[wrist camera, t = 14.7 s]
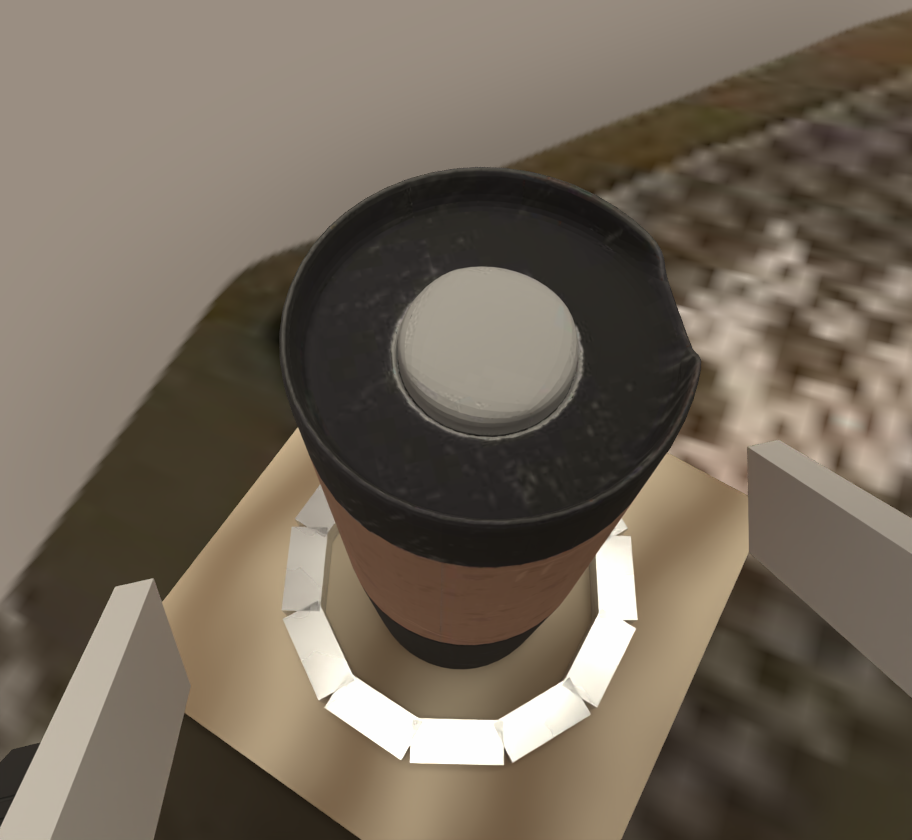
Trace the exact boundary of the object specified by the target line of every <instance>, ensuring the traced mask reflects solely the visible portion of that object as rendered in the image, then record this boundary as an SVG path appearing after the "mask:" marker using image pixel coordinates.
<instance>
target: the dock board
mask: <svg viewBox="0 0 912 840" xmlns="http://www.w3.org/2000/svg"><path fill="white" fill-rule="evenodd" d="M319 485H320V482H319V479H318V477H317V474H316V472H315V469H314V467H313V464H312V461H311V459H310V456H309V454H308V451H307V449H306V446H305V444H304V441H303V439H302V436H301V433H300V431H299V428H297V429H296V431H295V432H294V433H293V434H292V436H291V437H290V438H289V440H288V441H287V442H286V443H285V445H284V446H283V447H282V449H281V450H280V451H279V452H278V454H277V455H276V456H275V458H274V459H273V460H272V462H271V463H270V464H269V465H268V467H267V468H266V469H265V471H264V472H263V473H262V474H261V476H260V477H259V478H258V480H257V481H256V482H255V483H254V485H253V486H252V487H251V489H250V490H249V491H248V492H247V494H246V495H245V496H244V498H243V499H242V500H241V501H240V503H239V504H238V505H237V507H236V508H235V509H234V510H233V512H232V513H231V514H230V516H229V517H228V518H227V520H226V521H225V522H224V523H223V525H222V526H221V527H220V529H219V530H218V531H217V532H216V534H215V535H214V536H213V538H212V539H211V540H210V541H209V543H208V544H207V545H206V547H205V548H204V549H203V550H202V552H201V553H200V554H199V556H198V557H197V558H196V559H195V561H194V562H193V563H192V565H191V566H190V567H189V568H188V570H187V571H186V572H185V574H184V575H183V576H182V578H181V579H180V580H179V581H178V583H177V584H176V585H175V587H174V588H173V589H172V590H171V592H170V593H169V594H168V596H167V597H166V598H165V599H164V601H163V602H162V604H163V607H164V610H165V613H166V616H167V619H168V622H169V624H170V627H171V630H172V633H173V636H174V639H175V642H176V645H177V648H178V650H179V653H180V656H181V659H182V662H183V665H184V668H185V671H186V674H187V677H188V679H189V682H190V685H191V687H190V691H189V695H188V699H187V703H186V708H185V712H184V713H186V714H187V715H189V716H190V717H191V718H193V719H194V720H196V721H197V722H198V723H200V724H201V725H202V726H204V727H205V728H207V729H208V730H209V731H211V732H212V733H214V734H215V735H216V736H218V737H219V738H221V739H222V740H223V741H225V742H226V743H228V744H229V745H230V746H232V747H233V748H234V749H236V750H237V751H239V752H240V753H241V754H243V755H244V756H246V757H247V758H248V759H250V760H251V761H253V762H254V763H255V764H257V765H258V766H260V767H261V768H262V769H264V770H265V771H267V772H268V773H269V774H271V775H272V776H273V777H275V778H276V779H278V780H279V781H280V782H282V783H283V784H285V785H286V786H287V787H289V788H290V789H292V790H293V791H294V792H296V793H297V794H299V795H300V796H301V797H303V798H304V799H306V800H307V801H308V802H310V803H311V804H312V805H314V806H315V807H317V808H318V809H319V810H321V811H322V812H324V813H325V814H326V815H328V816H329V817H331V818H332V819H333V820H335V821H336V822H338V823H339V824H340V825H342V826H343V827H345V828H346V829H347V830H349V831H350V832H351V833H353V834H354V835H356V836H357V837H358V838H360V839H361V840H621V839H622V836H623V834H624V832H625V830H626V827H627V825H628V823H629V821H630V818H631V816H632V814H633V812H634V809H635V807H636V805H637V803H638V800H639V798H640V796H641V794H642V791H643V789H644V787H645V785H646V782H647V780H648V778H649V776H650V773H651V771H652V769H653V767H654V764H655V762H656V760H657V758H658V755H659V753H660V751H661V749H662V746H663V744H664V742H665V740H666V737H667V735H668V733H669V731H670V728H671V726H672V724H673V722H674V719H675V717H676V715H677V713H678V710H679V708H680V706H681V704H682V701H683V699H684V697H685V695H686V692H687V690H688V688H689V686H690V683H691V681H692V679H693V677H694V674H695V672H696V670H697V668H698V665H699V663H700V661H701V659H702V656H703V654H704V652H705V650H706V647H707V645H708V643H709V641H710V638H711V636H712V634H713V632H714V629H715V627H716V625H717V623H718V620H719V618H720V616H721V614H722V611H723V609H724V607H725V605H726V602H727V600H728V598H729V596H730V593H731V591H732V589H733V587H734V584H735V582H736V580H737V578H738V575H739V573H740V571H741V569H742V566H743V564H744V562H745V560H746V557H747V555H748V553H749V523H748V496H747V495H746V494H744V493H742V492H740V491H738V490H736V489H734V488H732V487H731V486H729V485H727V484H725V483H723V482H721V481H719V480H717V479H716V478H714V477H712V476H710V475H708V474H706V473H704V472H702V471H701V470H699V469H697V468H695V467H693V466H691V465H689V464H687V463H686V462H684V461H682V460H680V459H678V458H676V457H674V456H672V455H671V454H669V453H666V455H665V456H664V458H663V459H662V461H661V462H660V464H659V465H658V466H657V468H656V469H655V471H654V472H653V474H652V475H651V476H650V478H649V479H648V481H647V482H646V484H645V485H644V486H643V488H642V489H641V491H640V492H639V494H638V495H637V497H636V498H635V499H634V501H633V502H632V504H631V505H630V507H629V508H628V509H627V511H626V512H625V514H624V515H623V517H622V518H621V519H622V520H623V522H624V523H625V525H626V526H627V528H628V529H627V530H626V531H625V533H624V534H623V535H622V536H631V546H632V558H633V571H634V583H635V596H636V608H637V621H635V622H634V623H633V624H631V626H633V627H634V628H636V629H635V631H634V633H633V635H632V637H631V639H630V641H629V644H628V646H627V648H626V650H625V652H624V654H623V656H622V658H621V660H620V662H619V664H618V666H617V668H616V670H615V672H614V674H613V676H612V678H611V680H610V682H609V684H608V686H607V688H606V690H605V693H604V695H603V697H602V699H601V701H600V703H599V705H598V707H597V708H595V709H592V710H589V712H590V714H591V715H589V716H588V717H586V718H584V719H583V720H581V721H580V722H578V723H576V724H575V725H573V726H571V727H570V728H568V729H567V730H565V731H563V732H562V733H560V734H558V735H557V736H555V737H554V738H552V739H550V740H549V741H547V742H545V743H544V744H542V745H541V746H539V747H537V748H536V749H534V750H532V751H531V752H529V753H528V754H526V755H524V756H523V757H521V758H519V759H518V760H516V761H515V762H513V763H509V762H508V760H507V758H506V756H505V754H504V765H476V764H436V763H410V750H411V747H410V749H409V750H408V752H407V754H406V756H405V757H404V759H403V760H401V759H399V758H398V757H396V756H395V755H393V754H392V753H390V752H389V751H387V750H386V749H384V748H383V747H381V746H380V745H379V744H377V743H376V742H374V741H373V740H371V739H370V738H368V737H367V736H365V735H364V734H362V733H361V732H359V731H358V730H357V729H355V728H354V727H352V726H351V725H349V724H348V723H346V722H345V721H343V720H342V719H340V718H339V717H338V716H336V715H335V714H333V713H332V712H330V711H329V710H327V709H326V708H324V707H325V706H326V704H327V703H328V702H326V703H322V702H320V701H319V700H318V698H317V696H316V693H315V691H314V689H313V687H312V684H311V682H310V680H309V678H308V675H307V673H306V671H305V668H304V666H303V664H302V662H301V659H300V657H299V655H298V653H297V650H296V648H295V646H294V643H293V641H292V639H291V637H290V634H289V632H288V630H287V628H286V625H285V623H284V621H283V618H285V617H287V615H286V614H285V613H284V612H283V611H282V602H283V594H284V585H285V577H286V569H287V561H288V553H289V544H290V536H291V528H292V527H299V525H298V524H297V522H296V520H295V518H296V517H297V515H298V514H299V512H300V511H301V510H302V508H303V507H304V506H305V504H306V503H307V502H308V500H309V499H310V497H311V496H312V495H313V493H314V492H315V491H316V489H317V488H318V487H319ZM326 615H327V617H328V619H329V621H330V623H331V625H332V627H333V630H334V632H335V634H336V636H337V638H338V640H339V642H340V645H341V647H342V649H343V651H344V653H345V655H346V657H347V660H348V662H349V664H350V666H351V668H352V670H353V673H354V675H355V677H357V678H358V679H360V680H361V681H363V682H364V683H366V684H367V685H369V686H370V687H372V688H373V689H375V690H376V691H378V692H379V693H381V694H382V695H384V696H385V697H387V698H388V699H390V700H391V701H393V702H394V703H396V704H397V705H399V706H400V707H402V708H403V709H405V710H406V711H408V712H409V713H411V714H412V715H414V716H415V717H417V718H425V719H464V720H499V719H501V718H502V717H504V716H506V715H507V714H509V713H511V712H512V711H514V710H516V709H517V708H519V707H521V706H522V705H524V704H526V703H527V702H529V701H531V700H532V699H534V698H536V697H537V696H539V695H541V694H542V693H544V692H546V691H547V690H549V689H551V688H552V687H554V686H556V685H557V684H559V683H560V681H561V679H562V677H563V675H564V673H565V671H566V669H567V667H568V665H569V663H570V661H571V659H572V657H573V656H574V654H575V652H576V650H577V648H578V646H579V644H580V642H581V640H582V638H583V636H584V634H585V632H586V630H587V629H588V627H589V625H590V623H591V621H592V611H591V593H590V574H589V566H588V567H587V568H586V570H585V571H584V573H583V574H582V576H581V577H580V579H579V580H578V581H577V583H576V584H575V586H574V587H573V589H572V590H571V591H570V593H569V594H568V595H567V597H566V598H565V599H564V601H563V602H562V603H561V604H560V606H559V607H558V608H557V609H556V610H555V611H554V612H553V613H552V614H551V615H550V616H549V617H548V618H547V619H546V620H545V621H544V622H543V623H542V624H541V625H540V626H539V627H538V628H537V629H536V630H535V631H534V632H533V633H532V634H531V635H530V636H529V637H528V638H527V639H526V640H525V641H524V643H523V644H521V645H520V646H519V647H518V648H517V649H515V650H514V651H513V652H512V653H510V654H509V655H507V656H506V657H504V658H502V659H500V660H499V661H496V662H494V663H491V664H489V665H486V666H482V667H478V668H473V669H449V668H443V667H439V666H436V665H433V664H430V663H427V662H425V661H423V660H421V659H419V658H418V657H416V656H414V655H413V654H411V653H410V652H409V651H407V650H406V649H405V648H404V647H403V646H402V645H400V643H399V642H398V641H397V640H396V639H395V638H394V637H393V636H392V634H391V633H390V631H389V630H388V628H387V627H386V625H385V624H384V622H383V621H382V619H381V617H380V616H379V614H378V612H377V611H376V609H375V607H374V606H373V604H372V602H371V601H370V599H369V597H368V596H367V594H366V592H365V591H364V589H363V587H362V585H361V583H360V581H359V579H358V577H357V575H356V573H355V571H354V569H353V567H352V564H351V562H350V559H349V556H348V554H347V551H346V549H345V546H344V544H343V541H342V538H341V536H340V533H339V534H338V536H337V537H336V538H335V540H334V541H333V543H332V552H331V562H330V573H329V583H328V593H327V604H326Z"/></svg>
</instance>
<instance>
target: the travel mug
mask: <svg viewBox="0 0 912 840" xmlns="http://www.w3.org/2000/svg"><path fill="white" fill-rule="evenodd" d="M280 364H281V370H282V376H283V382H284V387H285V391H286V394H287V397H288V400H289V403H290V406H291V410H292V413H293V416H294V418H295V421H296V423H297V426H298V428H299V431H300V433H301V436H302V439H303V441H304V444H305V446H306V449H307V451H308V454H309V456H310V459H311V461H312V464H313V467H314V469H315V472H316V474H317V477H318V479H319V482H320V485H321V487H322V490H323V492H324V495H325V497H326V500H327V503H328V505H329V508H330V510H331V513H332V515H333V518H334V520H335V523H336V526H337V528H338V531H339V533H340V536H341V538H342V541H343V544H344V546H345V549H346V551H347V554H348V556H349V559H350V562H351V564H352V567H353V569H354V571H355V573H356V575H357V577H358V579H359V581H360V583H361V585H362V587H363V589H364V591H365V592H366V594H367V596H368V597H369V599H370V601H371V602H372V604H373V606H374V607H375V609H376V611H377V612H378V614H379V616H380V617H381V619H382V621H383V622H384V624H385V625H386V627H387V628H388V630H389V631H390V633H391V634H392V636H393V637H394V638H395V639H396V640H397V641H398V642H399V643H400V645H402V646H403V647H404V648H405V649H406V650H407V651H409V652H410V653H411V654H413V655H414V656H416V657H418V658H419V659H421V660H423V661H425V662H427V663H430V664H433V665H436V666H439V667H443V668H449V669H473V668H478V667H482V666H486V665H489V664H491V663H494V662H496V661H499V660H500V659H502V658H504V657H506V656H507V655H509V654H510V653H512V652H513V651H514V650H515V649H517V648H518V647H519V646H520V645H521V644H523V643H524V641H525V640H526V639H527V638H528V637H529V636H530V635H531V634H532V633H533V632H534V631H535V630H536V629H537V628H538V627H539V626H540V625H541V624H542V623H543V622H544V621H545V620H546V619H547V618H548V617H549V616H550V615H551V614H552V613H553V612H554V611H555V610H556V609H557V608H558V607H559V606H560V604H561V603H562V602H563V601H564V599H565V598H566V597H567V595H568V594H569V593H570V591H571V590H572V589H573V587H574V586H575V584H576V583H577V581H578V580H579V579H580V577H581V576H582V574H583V573H584V571H585V570H586V568H587V567H588V566H589V564H590V563H591V561H592V560H593V558H594V557H595V555H596V554H597V553H598V551H599V550H600V548H601V547H602V545H603V544H604V543H605V541H606V540H607V538H608V537H609V535H610V534H611V532H612V531H613V530H614V528H615V527H616V525H617V524H618V522H619V521H620V520H621V518H622V517H623V515H624V514H625V512H626V511H627V509H628V508H629V507H630V505H631V504H632V502H633V501H634V499H635V498H636V497H637V495H638V494H639V492H640V491H641V489H642V488H643V486H644V485H645V484H646V482H647V481H648V479H649V478H650V476H651V475H652V474H653V472H654V471H655V469H656V468H657V466H658V465H659V464H660V462H661V461H662V459H663V458H664V456H665V455H666V453H667V452H668V451H669V449H670V448H671V446H672V444H673V442H674V440H675V438H676V436H677V435H678V433H679V431H680V429H681V427H682V425H683V423H684V422H685V419H686V417H687V414H688V412H689V409H690V407H691V404H692V401H693V399H694V395H695V392H696V388H697V385H698V381H699V376H700V371H701V359H700V357H699V355H698V354H697V353H695V351H694V350H693V349H692V346H691V344H690V341H689V338H688V336H687V333H686V330H685V328H684V325H683V322H682V319H681V316H680V314H679V311H678V308H677V306H676V303H675V300H674V297H673V294H672V291H671V288H670V285H669V282H668V278H667V274H666V269H665V262H664V257H663V254H662V251H661V249H660V247H659V246H658V244H657V242H656V241H655V240H654V239H653V238H652V237H651V236H650V234H649V233H648V232H647V231H646V230H645V229H643V228H642V227H641V226H640V225H639V224H638V223H637V222H635V221H634V220H633V219H632V218H630V217H629V216H628V215H626V214H625V213H623V212H622V211H621V210H619V209H618V208H617V207H615V206H613V205H612V204H610V203H608V202H607V201H605V200H603V199H602V198H600V197H598V196H597V195H595V194H593V193H590V192H588V191H586V190H584V189H582V188H580V187H578V186H575V185H573V184H570V183H567V182H564V181H562V180H559V179H556V178H553V177H550V176H545V175H541V174H537V173H533V172H528V171H522V170H515V169H507V168H490V167H472V168H457V169H450V170H444V171H438V172H432V173H428V174H424V175H421V176H417V177H414V178H410V179H407V180H404V181H402V182H399V183H397V184H394V185H392V186H389V187H387V188H384V189H383V190H381V191H379V192H377V193H375V194H373V195H371V196H369V197H367V198H366V199H364V200H363V201H361V202H360V203H358V204H357V205H355V206H354V207H352V208H351V209H350V210H348V211H347V212H345V213H344V214H343V215H342V216H341V217H340V218H339V219H337V220H336V221H335V222H334V223H333V224H332V225H331V226H329V227H328V228H327V230H326V231H325V232H324V233H323V234H322V235H321V236H320V238H319V239H318V240H317V241H316V242H315V243H314V245H313V246H312V247H311V249H310V250H309V252H308V254H307V255H306V257H305V258H304V260H303V261H302V263H301V264H300V266H299V268H298V271H297V273H296V275H295V277H294V279H293V281H292V283H291V285H290V288H289V291H288V294H287V298H286V301H285V304H284V307H283V312H282V319H281V326H280Z"/></svg>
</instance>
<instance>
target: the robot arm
mask: <svg viewBox="0 0 912 840" xmlns="http://www.w3.org/2000/svg"><path fill="white" fill-rule="evenodd" d="M747 454H748V523H749V553H750V554H751V555H753V556H754V557H755V558H756V559H757V560H758V561H759V562H760V563H762V564H763V565H764V566H765V567H766V568H767V569H768V570H769V571H770V572H772V573H773V574H774V575H775V576H776V577H777V578H778V579H779V580H781V581H782V582H783V583H784V584H785V585H786V586H787V587H788V588H790V589H791V590H792V591H793V592H794V593H795V594H796V595H797V596H798V597H800V598H801V599H802V600H803V601H804V602H805V603H806V604H807V605H809V606H810V607H811V608H812V609H813V610H814V611H815V612H816V613H817V614H819V615H820V616H821V617H822V618H823V619H824V620H825V621H826V622H828V623H829V624H830V625H831V626H832V627H833V628H834V629H835V630H836V631H838V632H839V633H840V634H841V635H842V636H843V637H844V638H845V639H847V640H848V641H849V642H850V643H851V644H852V645H853V646H854V647H855V648H857V649H858V650H859V651H860V652H861V653H862V654H863V655H864V656H866V657H867V658H868V659H869V660H870V661H871V662H872V663H873V664H875V665H876V666H877V667H878V668H879V669H880V670H881V671H882V672H883V673H885V674H886V675H887V676H888V677H889V678H890V679H891V680H892V681H894V682H895V683H896V684H897V685H898V686H899V687H900V688H901V689H902V690H904V691H905V692H906V693H907V694H908V695H909V696H910V697H911V698H912V518H910V517H908V516H907V515H905V514H903V513H902V512H900V511H898V510H896V509H895V508H893V507H891V506H890V505H888V504H886V503H885V502H883V501H881V500H880V499H878V498H876V497H875V496H873V495H871V494H869V493H868V492H866V491H864V490H863V489H861V488H859V487H858V486H856V485H854V484H853V483H851V482H849V481H848V480H846V479H844V478H842V477H841V476H839V475H837V474H836V473H834V472H832V471H831V470H829V469H827V468H826V467H824V466H822V465H821V464H819V463H817V462H816V461H814V460H812V459H810V458H809V457H807V456H805V455H804V454H802V453H800V452H799V451H797V450H795V449H794V448H792V447H790V446H789V445H787V444H785V443H783V442H782V441H780V440H775V441H771V442H766V443H762V444H757V445H753V446H748V447H747ZM190 687H191V685H190V682H189V679H188V677H187V674H186V671H185V668H184V665H183V662H182V659H181V656H180V653H179V650H178V648H177V645H176V642H175V639H174V636H173V633H172V630H171V627H170V624H169V622H168V619H167V616H166V613H165V610H164V607H163V604H162V601H161V598H160V595H159V593H158V590H157V587H156V584H155V581H154V578H153V579H148V580H144V581H139V582H135V583H130V584H126V585H121V586H117V587H115V588H114V591H113V593H112V595H111V597H110V599H109V601H108V603H107V605H106V607H105V609H104V611H103V614H102V616H101V618H100V620H99V622H98V624H97V626H96V628H95V630H94V632H93V634H92V637H91V639H90V641H89V643H88V645H87V647H86V649H85V651H84V653H83V655H82V657H81V660H80V662H79V664H78V666H77V668H76V670H75V672H74V674H73V676H72V678H71V680H70V683H69V685H68V687H67V689H66V691H65V693H64V695H63V697H62V699H61V701H60V703H59V706H58V708H57V710H56V712H55V714H54V716H53V718H52V720H51V722H50V724H49V726H48V729H47V731H46V733H45V735H44V737H43V739H42V741H41V743H37V744H33V745H29V746H25V747H21V748H16V749H12V750H11V751H10V753H9V754H8V755H7V756H6V757H5V758H4V759H3V760H2V761H1V762H0V840H154V835H155V831H156V827H157V823H158V819H159V815H160V811H161V807H162V802H163V798H164V794H165V790H166V786H167V782H168V778H169V774H170V769H171V765H172V761H173V757H174V753H175V749H176V745H177V741H178V736H179V732H180V728H181V724H182V720H183V716H184V712H185V708H186V703H187V699H188V695H189V691H190Z"/></svg>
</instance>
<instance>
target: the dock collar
mask: <svg viewBox="0 0 912 840" xmlns="http://www.w3.org/2000/svg"><path fill="white" fill-rule="evenodd" d="M295 520H296V522H297V524H298V525H299V527H292V528H291V536H290V544H289V553H288V561H287V569H286V577H285V585H284V594H283V602H282V611H283V612H284V613H285V614H286V615H287V617H285V618H283V621H284V623H285V625H286V628H287V630H288V632H289V634H290V637H291V639H292V641H293V643H294V646H295V648H296V650H297V653H298V655H299V657H300V659H301V662H302V664H303V666H304V668H305V671H306V673H307V675H308V678H309V680H310V682H311V684H312V687H313V689H314V691H315V693H316V696H317V698H318V700H319V701H320V702H322V703H326V702H328V703H327V704H326V706H325V707H324V708H326V709H327V710H329V711H330V712H332V713H333V714H335V715H336V716H338V717H339V718H340V719H342V720H343V721H345V722H346V723H348V724H349V725H351V726H352V727H354V728H355V729H357V730H358V731H359V732H361V733H362V734H364V735H365V736H367V737H368V738H370V739H371V740H373V741H374V742H376V743H377V744H379V745H380V746H381V747H383V748H384V749H386V750H387V751H389V752H390V753H392V754H393V755H395V756H396V757H398V758H399V759H401V760H403V759H404V757H405V756H406V754H407V752H408V750H409V749H410V747H411V750H410V763H436V764H476V765H504V754H505V756H506V758H507V760H508V762H509V763H513V762H515V761H516V760H518V759H519V758H521V757H523V756H524V755H526V754H528V753H529V752H531V751H532V750H534V749H536V748H537V747H539V746H541V745H542V744H544V743H545V742H547V741H549V740H550V739H552V738H554V737H555V736H557V735H558V734H560V733H562V732H563V731H565V730H567V729H568V728H570V727H571V726H573V725H575V724H576V723H578V722H580V721H581V720H583V719H584V718H586V717H588V716H589V715H591V714H590V712H589V710H592V709H595V708H597V707H598V705H599V703H600V701H601V699H602V697H603V695H604V693H605V690H606V688H607V686H608V684H609V682H610V680H611V678H612V676H613V674H614V672H615V670H616V668H617V666H618V664H619V662H620V660H621V658H622V656H623V654H624V652H625V650H626V648H627V646H628V644H629V641H630V639H631V637H632V635H633V633H634V631H635V629H636V628H634V627H633V626H631V624H633V623H634V622H635V621H637V608H636V596H635V583H634V571H633V558H632V546H631V536H622V535H623V534H624V533H625V531H626V530H627V529H628V528H627V526H626V525H625V523H624V522H623V520H622V519H621V520H620V521H619V522H618V524H617V525H616V527H615V528H614V530H613V531H612V532H611V534H610V535H609V537H608V538H607V540H606V541H605V543H604V544H603V545H602V547H601V548H600V550H599V551H598V553H597V554H596V555H595V557H594V558H593V560H592V561H591V563H590V564H589V574H590V593H591V611H592V621H591V623H590V625H589V627H588V629H587V630H586V632H585V634H584V636H583V638H582V640H581V642H580V644H579V646H578V648H577V650H576V652H575V654H574V656H573V657H572V659H571V661H570V663H569V665H568V667H567V669H566V671H565V673H564V675H563V677H562V679H561V681H560V683H559V684H557V685H556V686H554V687H552V688H551V689H549V690H547V691H546V692H544V693H542V694H541V695H539V696H537V697H536V698H534V699H532V700H531V701H529V702H527V703H526V704H524V705H522V706H521V707H519V708H517V709H516V710H514V711H512V712H511V713H509V714H507V715H506V716H504V717H502V718H501V719H499V720H464V719H425V718H417V717H415V716H414V715H412V714H411V713H409V712H408V711H406V710H405V709H403V708H402V707H400V706H399V705H397V704H396V703H394V702H393V701H391V700H390V699H388V698H387V697H385V696H384V695H382V694H381V693H379V692H378V691H376V690H375V689H373V688H372V687H370V686H369V685H367V684H366V683H364V682H363V681H361V680H360V679H358V678H357V677H355V675H354V673H353V670H352V668H351V666H350V664H349V662H348V660H347V657H346V655H345V653H344V651H343V649H342V647H341V645H340V642H339V640H338V638H337V636H336V634H335V632H334V630H333V627H332V625H331V623H330V621H329V619H328V617H327V615H326V604H327V593H328V583H329V573H330V562H331V552H332V543H333V541H334V540H335V538H336V537H337V536H338V534H339V531H338V528H337V526H336V523H335V520H334V518H333V515H332V513H331V510H330V508H329V505H328V503H327V500H326V497H325V495H324V492H323V490H322V487H321V485H319V487H318V488H317V489H316V491H315V492H314V493H313V495H312V496H311V497H310V499H309V500H308V502H307V503H306V504H305V506H304V507H303V508H302V510H301V511H300V512H299V514H298V515H297V517H296V518H295Z"/></svg>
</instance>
